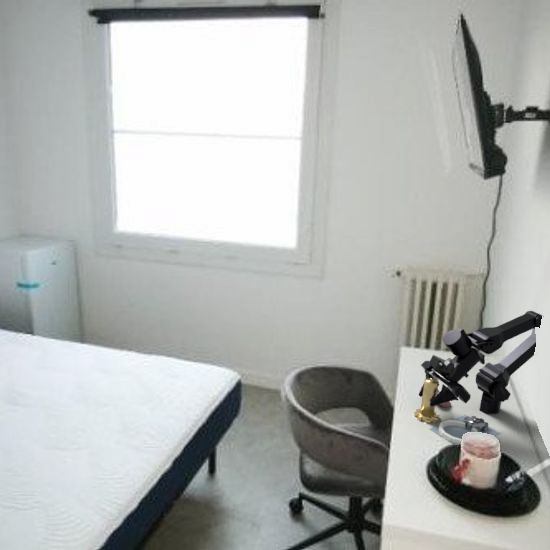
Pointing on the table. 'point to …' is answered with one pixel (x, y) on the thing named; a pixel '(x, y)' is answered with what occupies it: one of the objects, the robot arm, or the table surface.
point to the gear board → (456, 430)
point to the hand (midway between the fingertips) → (424, 400)
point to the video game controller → (445, 402)
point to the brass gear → (428, 402)
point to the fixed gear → (476, 423)
